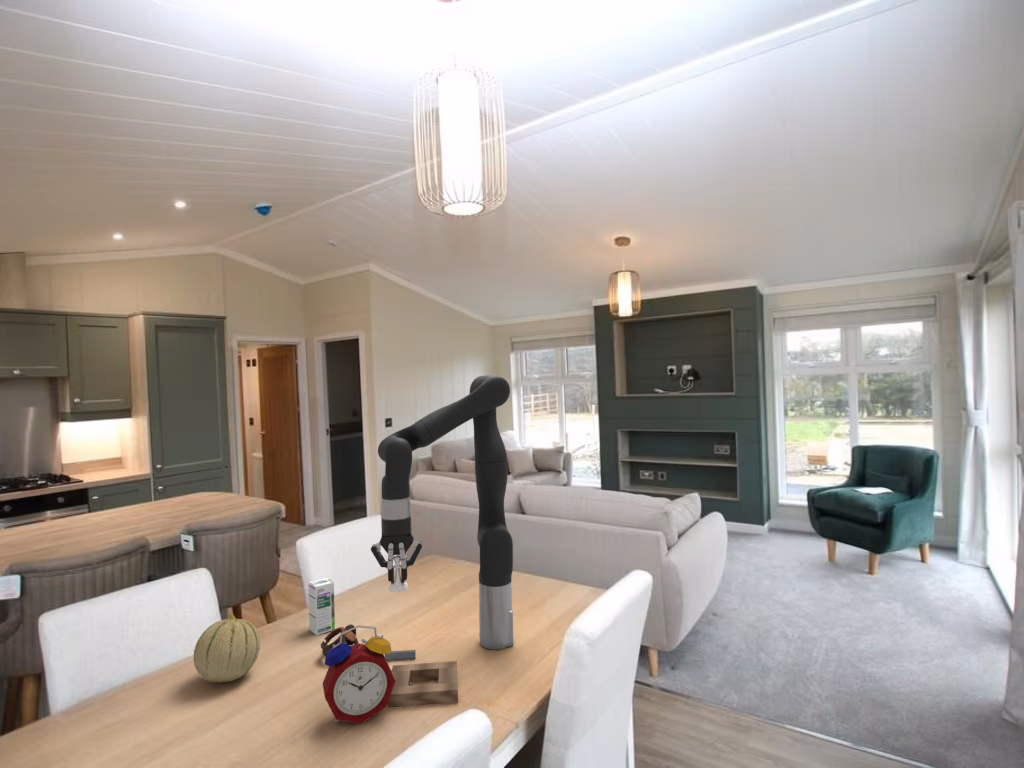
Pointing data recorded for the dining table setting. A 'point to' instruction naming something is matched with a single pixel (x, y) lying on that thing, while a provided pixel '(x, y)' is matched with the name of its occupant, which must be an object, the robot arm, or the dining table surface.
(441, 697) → the block
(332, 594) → the syrup box
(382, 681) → the alarm clock
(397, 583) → the chess piece
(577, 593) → the dining table surface
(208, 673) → the cantaloupe
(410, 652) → the stand rails
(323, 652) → the pottery mug
